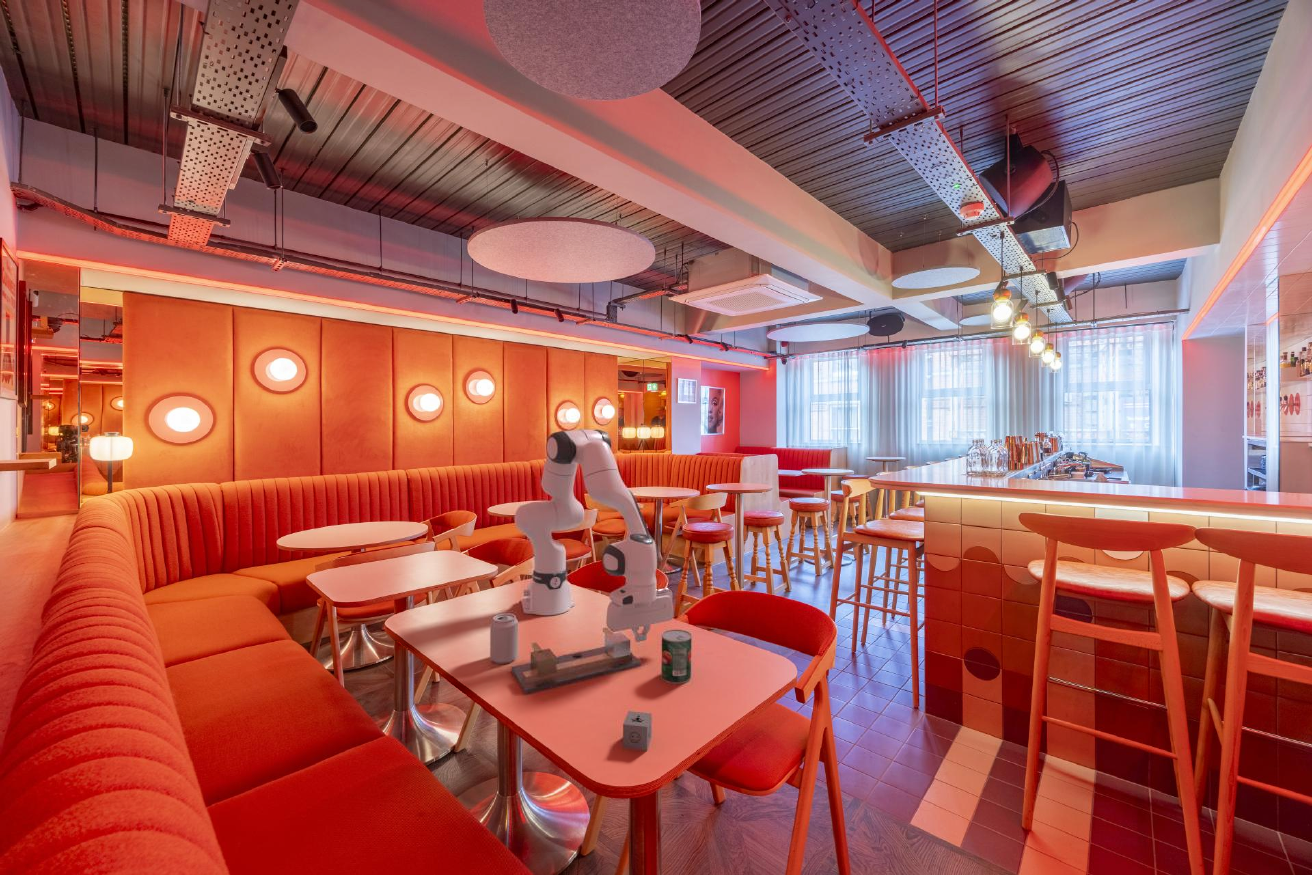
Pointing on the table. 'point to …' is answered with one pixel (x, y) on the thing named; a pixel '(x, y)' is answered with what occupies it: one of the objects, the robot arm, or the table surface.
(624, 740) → the dice cube
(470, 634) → the table surface
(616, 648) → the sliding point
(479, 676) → the table surface
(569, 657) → the bolt plate
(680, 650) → the canned tomato
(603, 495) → the robot arm
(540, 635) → the table surface
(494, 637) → the can
